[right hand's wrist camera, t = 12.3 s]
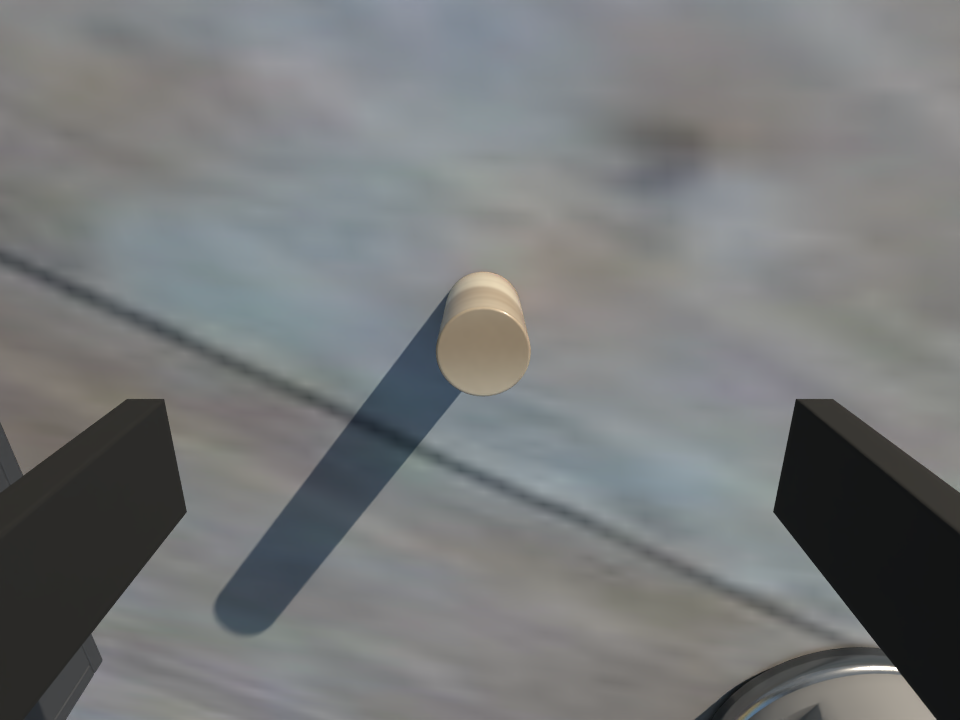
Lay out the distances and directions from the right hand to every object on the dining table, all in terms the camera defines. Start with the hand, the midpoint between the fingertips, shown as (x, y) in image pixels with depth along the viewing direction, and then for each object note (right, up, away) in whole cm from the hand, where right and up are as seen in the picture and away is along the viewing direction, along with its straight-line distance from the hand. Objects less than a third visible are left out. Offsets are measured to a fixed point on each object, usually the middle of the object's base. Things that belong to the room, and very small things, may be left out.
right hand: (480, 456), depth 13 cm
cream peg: (0, +4, +13) cm, 14 cm away
